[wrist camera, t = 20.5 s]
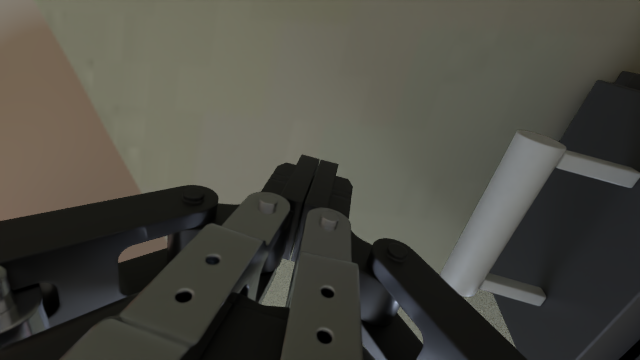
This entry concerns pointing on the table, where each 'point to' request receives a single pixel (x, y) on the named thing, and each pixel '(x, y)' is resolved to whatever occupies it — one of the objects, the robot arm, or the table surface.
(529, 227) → the drawer
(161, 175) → the table surface
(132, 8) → the table surface
